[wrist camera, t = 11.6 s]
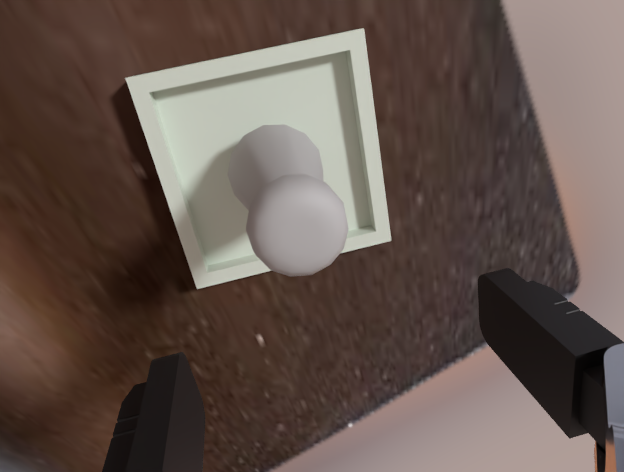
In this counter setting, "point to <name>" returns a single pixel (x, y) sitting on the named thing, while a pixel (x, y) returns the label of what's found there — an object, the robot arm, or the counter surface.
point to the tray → (247, 117)
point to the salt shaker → (287, 201)
